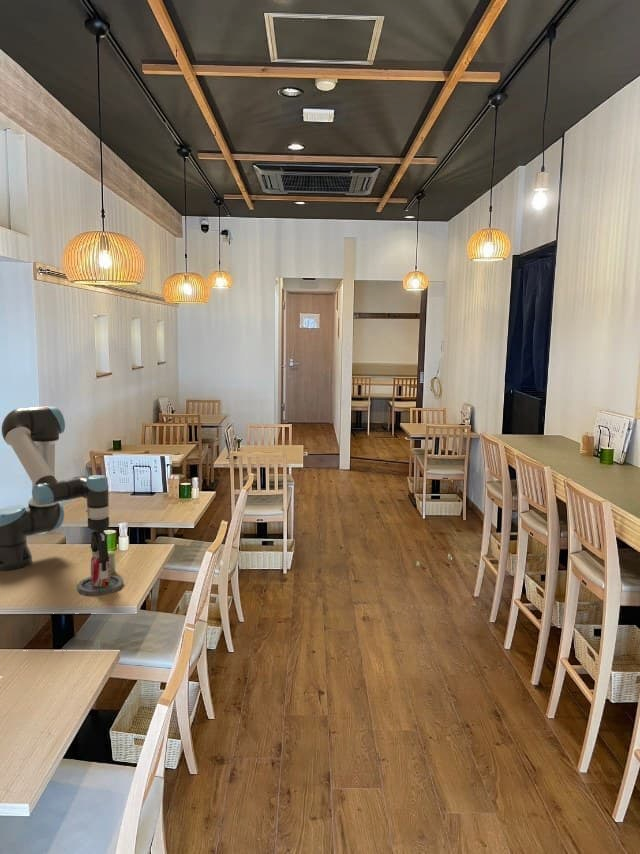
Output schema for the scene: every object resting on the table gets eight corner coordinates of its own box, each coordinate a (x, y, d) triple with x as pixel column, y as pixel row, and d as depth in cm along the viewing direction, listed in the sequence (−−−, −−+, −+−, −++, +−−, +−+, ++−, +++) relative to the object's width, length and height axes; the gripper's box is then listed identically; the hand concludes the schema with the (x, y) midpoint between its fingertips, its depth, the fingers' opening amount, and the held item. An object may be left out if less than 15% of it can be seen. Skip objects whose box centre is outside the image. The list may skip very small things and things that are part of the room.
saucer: (73, 583, 233) (73, 579, 232) (116, 575, 241) (116, 571, 241) (82, 598, 219) (82, 594, 219) (127, 589, 228) (127, 586, 227)
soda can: (103, 589, 226) (104, 558, 224) (86, 587, 227) (86, 556, 225) (114, 582, 233) (114, 552, 231) (97, 580, 234) (97, 550, 232)
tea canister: (100, 571, 245) (99, 552, 244) (113, 568, 248) (112, 550, 246) (103, 575, 241) (102, 555, 240) (116, 572, 243) (115, 553, 242)
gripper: (81, 510, 234) (83, 565, 237) (94, 526, 214) (96, 586, 218) (101, 507, 238) (103, 561, 241) (116, 523, 218) (118, 582, 222)
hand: (100, 573), depth 229 cm, fingers open, 11 cm apart
